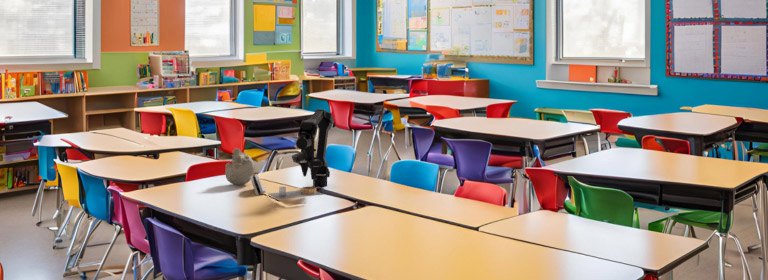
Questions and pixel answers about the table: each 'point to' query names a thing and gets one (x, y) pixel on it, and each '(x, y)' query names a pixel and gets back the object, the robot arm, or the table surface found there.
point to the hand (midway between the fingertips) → (308, 177)
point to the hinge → (257, 184)
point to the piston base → (290, 194)
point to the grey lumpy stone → (239, 168)
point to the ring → (308, 190)
